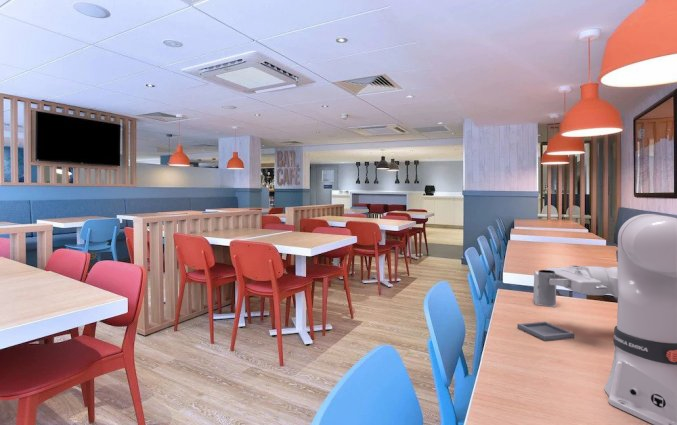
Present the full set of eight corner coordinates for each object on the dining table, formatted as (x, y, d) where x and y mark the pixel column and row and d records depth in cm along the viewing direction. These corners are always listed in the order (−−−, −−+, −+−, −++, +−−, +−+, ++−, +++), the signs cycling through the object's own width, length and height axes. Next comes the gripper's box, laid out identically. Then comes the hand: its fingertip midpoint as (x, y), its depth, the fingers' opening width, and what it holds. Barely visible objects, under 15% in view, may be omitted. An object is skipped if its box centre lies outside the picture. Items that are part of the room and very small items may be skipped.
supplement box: (534, 305, 147) (535, 273, 146) (532, 300, 153) (534, 270, 153) (556, 307, 144) (557, 275, 143) (553, 302, 150) (554, 272, 150)
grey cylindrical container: (557, 306, 113) (557, 272, 112) (541, 305, 114) (541, 272, 113) (552, 301, 117) (551, 269, 117) (536, 301, 118) (536, 269, 118)
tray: (574, 338, 112) (574, 333, 112) (544, 341, 109) (544, 336, 109) (545, 325, 122) (545, 321, 122) (517, 328, 120) (517, 323, 120)
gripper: (612, 299, 104) (561, 298, 105) (570, 283, 125) (528, 282, 125) (613, 277, 104) (562, 276, 105) (571, 264, 124) (529, 263, 125)
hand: (543, 279), depth 115 cm, fingers closed on grey cylindrical container, 4 cm apart
